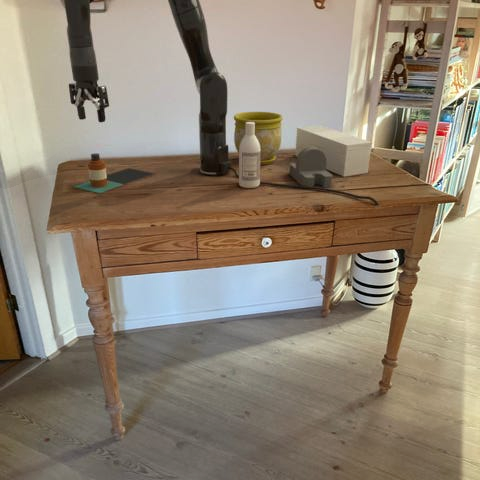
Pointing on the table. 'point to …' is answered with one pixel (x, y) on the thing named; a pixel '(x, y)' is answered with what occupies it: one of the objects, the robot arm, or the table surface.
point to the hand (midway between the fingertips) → (92, 120)
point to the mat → (115, 180)
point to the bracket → (311, 168)
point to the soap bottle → (97, 171)
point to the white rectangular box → (336, 149)
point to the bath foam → (249, 158)
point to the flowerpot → (261, 132)
